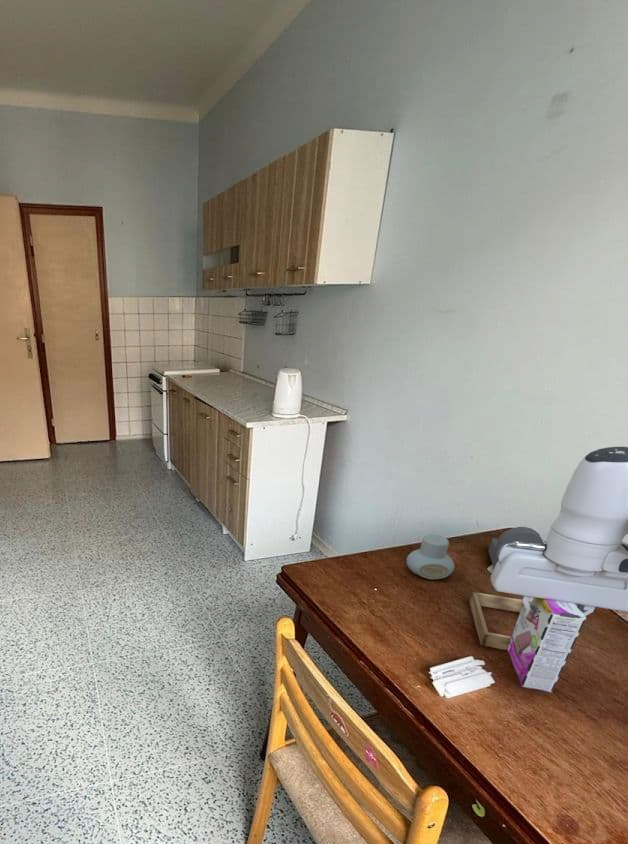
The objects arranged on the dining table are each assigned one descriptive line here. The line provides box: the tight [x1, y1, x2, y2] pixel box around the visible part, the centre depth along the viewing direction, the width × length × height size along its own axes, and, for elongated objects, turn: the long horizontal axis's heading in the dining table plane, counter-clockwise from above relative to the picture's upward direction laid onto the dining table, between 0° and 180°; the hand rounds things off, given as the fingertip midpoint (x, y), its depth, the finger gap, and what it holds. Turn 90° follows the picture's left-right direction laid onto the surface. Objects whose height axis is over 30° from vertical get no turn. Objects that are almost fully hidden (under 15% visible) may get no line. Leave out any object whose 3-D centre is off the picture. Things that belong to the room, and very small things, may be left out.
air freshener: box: [406, 534, 455, 581], centre depth 120 cm, size 11×8×10 cm
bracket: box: [488, 526, 545, 569], centre depth 122 cm, size 10×18×11 cm, turn 156°
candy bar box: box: [506, 597, 587, 693], centre depth 83 cm, size 11×5×16 cm, turn 161°
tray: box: [468, 591, 523, 651], centre depth 101 cm, size 12×17×3 cm
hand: (548, 619), depth 82 cm, fingers closed on candy bar box, 5 cm apart
